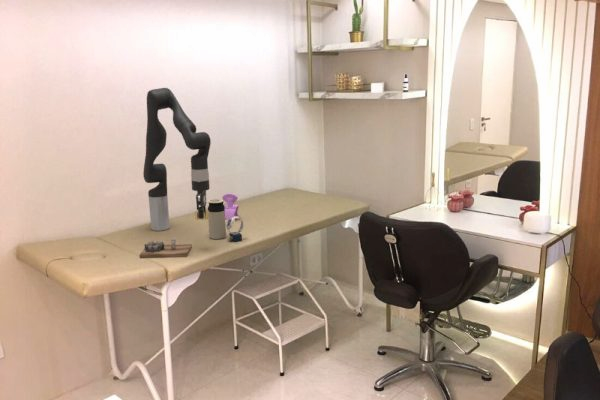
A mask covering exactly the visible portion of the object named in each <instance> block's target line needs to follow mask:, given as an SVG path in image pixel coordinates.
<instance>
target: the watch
mask: <svg viewBox="0 0 600 400" xmlns="http://www.w3.org/2000/svg"><path fill="white" fill-rule="evenodd" d="M236 219H237V220H240V222H241V223H240V226H239V228H238V230H237V231H234V232H231V229H232V227H233V226H234V223H235V222H234V220H236ZM244 225H245V224H244V220H243V219H242V218H240V217H232V218H230V219H229V220H228V222H226V230H227V231H228V232H229V240H230V241H231V242H232V243H239V242H243V235H242V233H241V232H242V231H243V230H244V229H243V228H244V227H245V226H244Z"/></svg>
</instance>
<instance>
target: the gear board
mask: <svg viewBox="0 0 600 400" xmlns="http://www.w3.org/2000/svg"><path fill="white" fill-rule="evenodd" d="M143 246H144V248H143V250H142V251H141V252H140V254H139V259H150V258H151V259H153V258H155V259H156V258H185V257H186V258H187V257H188V256H189V254H190V252H191V250H192V248H193V245H192V244H188V243H187V244H186V243H185V244H176V239H175V238H173V237H172V238H171V239H170V244H165V243H164V242H163V241H158V240H157V241H155V240H151V241H150V242H147V243H144V245H143Z"/></svg>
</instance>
